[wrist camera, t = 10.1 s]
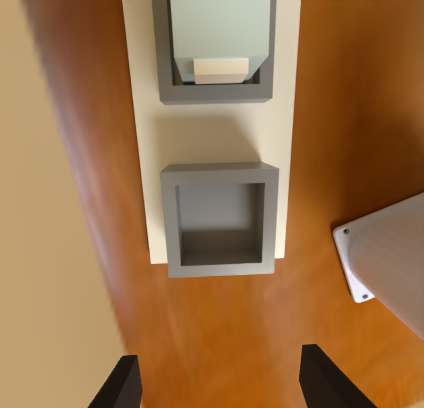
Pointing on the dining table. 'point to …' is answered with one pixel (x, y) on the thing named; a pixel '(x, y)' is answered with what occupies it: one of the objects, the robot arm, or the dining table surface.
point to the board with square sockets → (213, 149)
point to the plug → (220, 39)
